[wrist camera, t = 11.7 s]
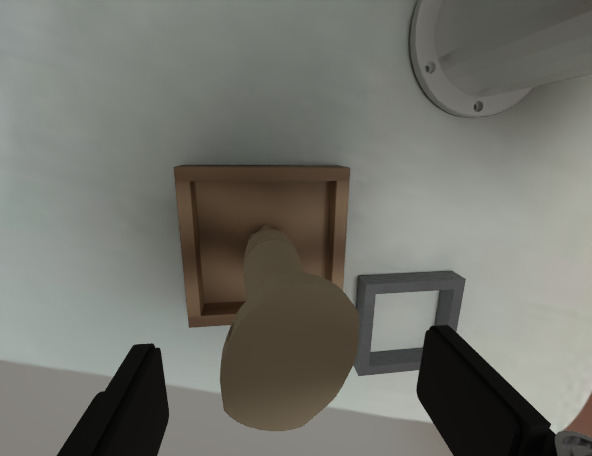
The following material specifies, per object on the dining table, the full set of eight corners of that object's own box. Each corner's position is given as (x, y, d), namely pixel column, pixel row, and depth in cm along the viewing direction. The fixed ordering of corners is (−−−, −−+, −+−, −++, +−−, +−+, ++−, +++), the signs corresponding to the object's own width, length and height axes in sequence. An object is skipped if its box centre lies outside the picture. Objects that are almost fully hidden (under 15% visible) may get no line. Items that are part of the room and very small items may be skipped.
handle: (227, 266, 25) (198, 417, 11) (254, 197, 24) (262, 266, 10) (279, 282, 26) (314, 440, 12) (307, 218, 25) (383, 307, 11)
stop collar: (358, 275, 29) (365, 284, 27) (451, 270, 30) (465, 279, 28) (352, 362, 31) (358, 376, 29) (438, 353, 33) (450, 366, 31)
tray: (183, 164, 24) (173, 167, 21) (339, 165, 25) (350, 167, 23) (195, 308, 27) (188, 327, 24) (332, 300, 29) (341, 316, 26)
